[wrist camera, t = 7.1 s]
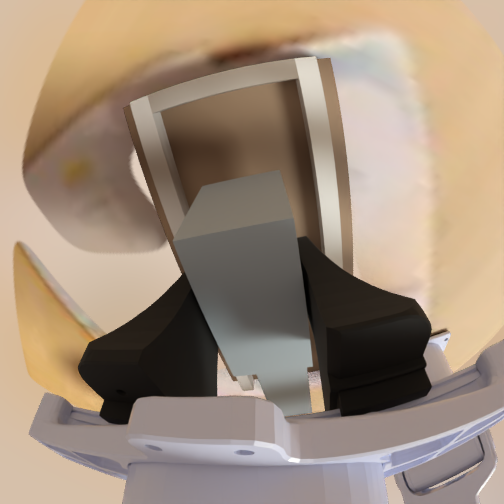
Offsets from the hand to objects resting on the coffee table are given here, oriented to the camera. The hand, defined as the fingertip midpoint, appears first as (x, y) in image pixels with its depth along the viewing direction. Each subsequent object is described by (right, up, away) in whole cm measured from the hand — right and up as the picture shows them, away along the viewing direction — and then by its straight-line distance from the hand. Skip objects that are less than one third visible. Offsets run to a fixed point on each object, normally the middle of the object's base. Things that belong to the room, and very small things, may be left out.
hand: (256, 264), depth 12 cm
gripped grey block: (0, +1, +1) cm, 2 cm away
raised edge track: (+1, 0, +7) cm, 7 cm away
